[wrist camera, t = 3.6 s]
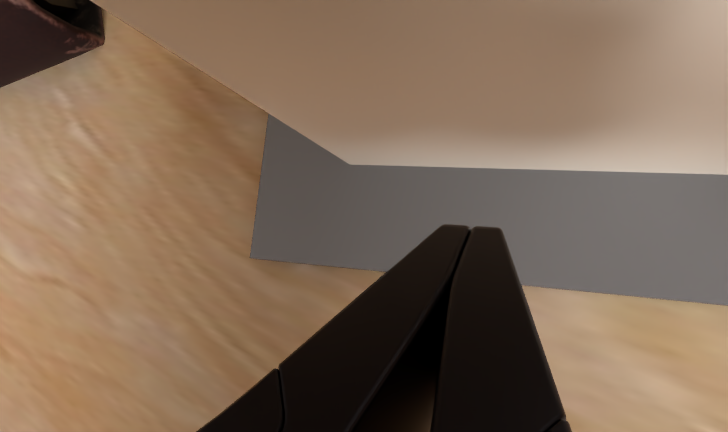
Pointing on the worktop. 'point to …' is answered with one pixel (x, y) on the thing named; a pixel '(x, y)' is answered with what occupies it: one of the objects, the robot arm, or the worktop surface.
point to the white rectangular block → (471, 77)
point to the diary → (45, 34)
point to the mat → (499, 219)
